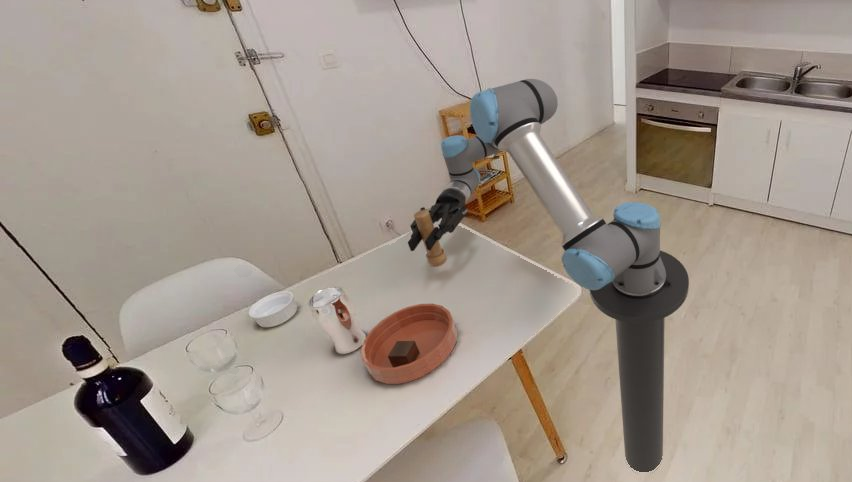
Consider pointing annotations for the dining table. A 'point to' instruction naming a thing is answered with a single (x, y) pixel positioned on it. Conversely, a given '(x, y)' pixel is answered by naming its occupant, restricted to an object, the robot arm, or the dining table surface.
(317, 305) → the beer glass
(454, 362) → the dining table surface
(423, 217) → the muddler
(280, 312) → the ramekin
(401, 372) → the bowl
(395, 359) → the walnut block
